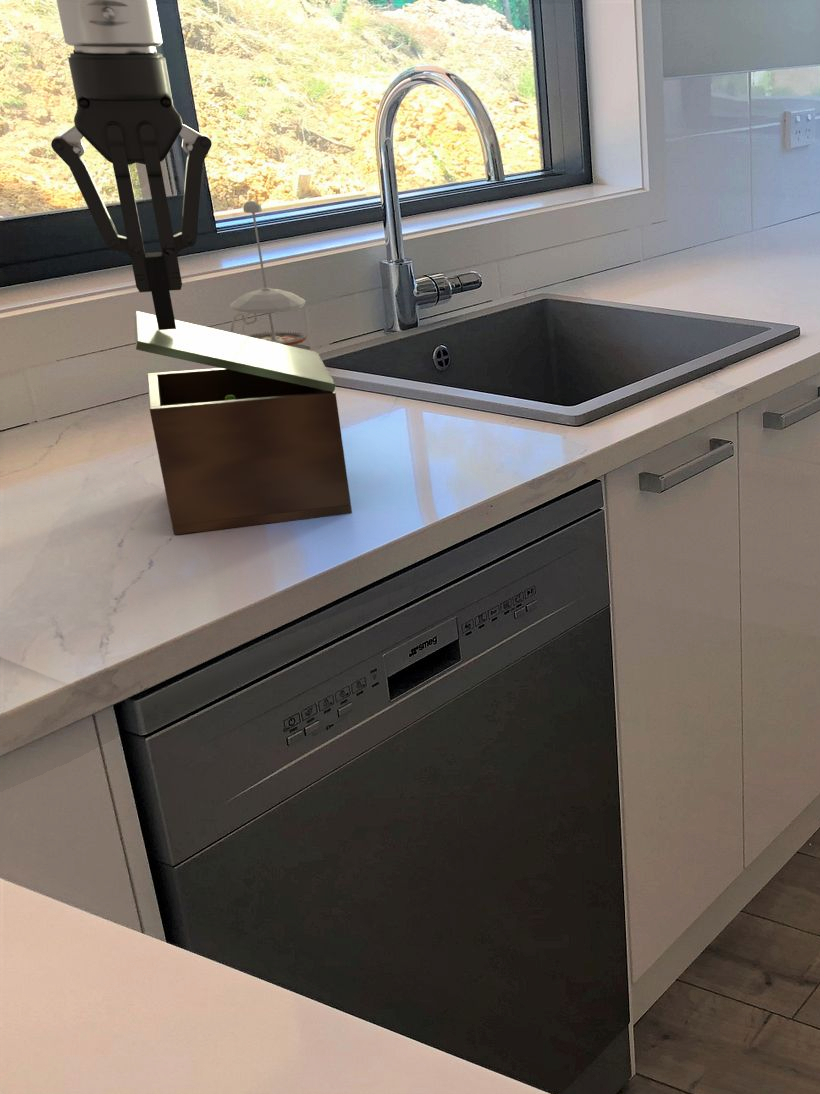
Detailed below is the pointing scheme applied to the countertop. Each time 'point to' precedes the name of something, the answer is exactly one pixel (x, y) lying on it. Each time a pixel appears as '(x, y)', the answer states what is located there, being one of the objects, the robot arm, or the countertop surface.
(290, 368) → the lid
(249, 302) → the french press
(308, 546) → the countertop surface
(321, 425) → the chest
